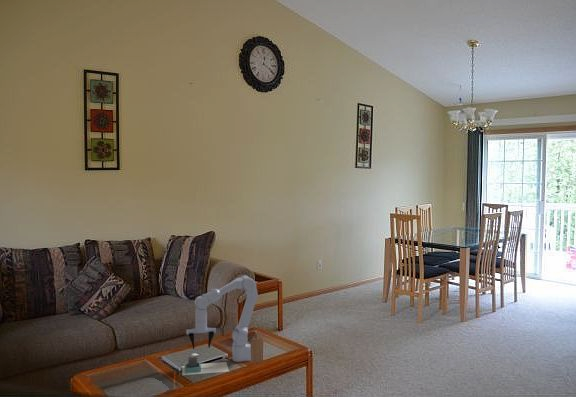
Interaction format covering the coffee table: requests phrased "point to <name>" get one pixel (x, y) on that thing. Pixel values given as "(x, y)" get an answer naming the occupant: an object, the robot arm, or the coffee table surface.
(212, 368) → the board
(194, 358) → the cable plug
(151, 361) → the coffee table surface
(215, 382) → the coffee table surface
